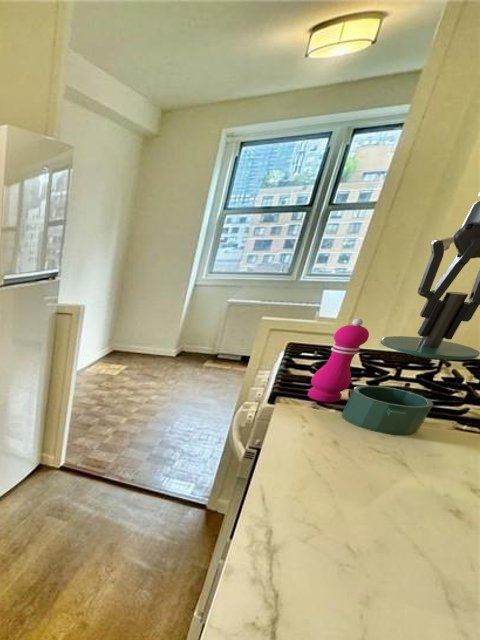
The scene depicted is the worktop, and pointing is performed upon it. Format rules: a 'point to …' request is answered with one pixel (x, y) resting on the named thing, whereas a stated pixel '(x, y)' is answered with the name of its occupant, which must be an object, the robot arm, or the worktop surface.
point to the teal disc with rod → (436, 335)
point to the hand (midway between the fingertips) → (434, 335)
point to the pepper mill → (338, 363)
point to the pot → (386, 410)
